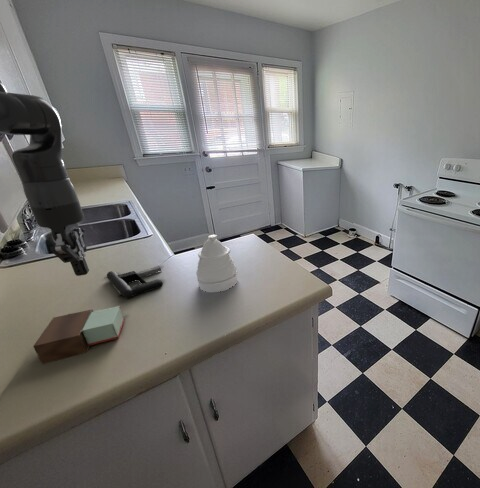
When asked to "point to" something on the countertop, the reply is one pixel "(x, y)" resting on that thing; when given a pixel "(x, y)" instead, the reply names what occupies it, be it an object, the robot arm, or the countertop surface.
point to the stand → (63, 337)
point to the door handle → (125, 278)
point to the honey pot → (215, 267)
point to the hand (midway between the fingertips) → (82, 273)
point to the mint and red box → (103, 325)
